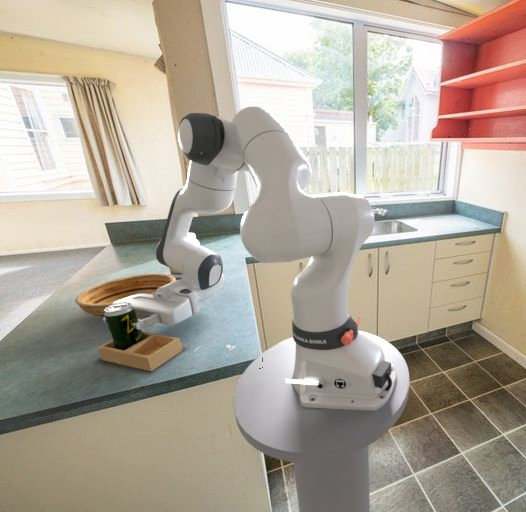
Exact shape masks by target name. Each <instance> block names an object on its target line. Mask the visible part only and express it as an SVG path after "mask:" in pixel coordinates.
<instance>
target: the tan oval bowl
mask: <svg viewBox="0 0 526 512" xmlns="http://www.w3.org/2000/svg"><path fill="white" fill-rule="evenodd" d="M174 281H177V278H174V277H173V276H171V274H166V273H146V274H145V273H144V274H138V275H131V276H125V277H121V278H116V279H113V280H109V281H106V282H103V283H99V284H96V285H94V286H92V287H90V288H88V289H86V290H83V291H82V292H81V293H79V294H78V295H77V296H76V297H75V298H74V303H75V304H76V305H78V307H79V308H80V309H81V310H82V311H83V312H85V313H86V314H88V315H91V316H93V317H99V318H104V317H105V315H104V314H105V311H104V310H105V309H106V308H107V307H109V306H111V305H112V304H113V303H114V302H116V301H118V300H121V299H124V298H127V297H130V296H133V295H136V294H150V295H155V292H156V290H157V289H158V288H159V287H162V286H164V285H167V284H169V283H171V282H174Z"/></svg>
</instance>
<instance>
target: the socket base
mask: <svg viewBox="0 0 526 512" xmlns="http://www.w3.org/2000/svg"><path fill="white" fill-rule="evenodd" d="M141 333H142V336H143V340H142V341H141V342H139V343H137V344H135V345H133V346H132V347H130V348H128V349H126V350H119V349H116V348H115V345H114V342H113V339H112V340H110V341H108V342H106V343H104V344H102V345H100V346H98V347H97V349H98V352H99V356H100V358H101V360H102V361H103V362H104V361H105V362H109V363H113V364H118V365H123V366H126V367H131V368H135V369H140V370H144V371H148V372H152V371H154V370H156V369H157V368H159V367H160V366H162V365H163V364H164V363H166V362H167V361H170V360H171V359H173V358H174V357H175V356H176V355H179V354H180V353H181V352H182V351H183V347H182V342H181V338H180V337H174V336H169V335H165V334H164V335H163V334H160V333H159V334H158V333H153V332H148V331H142V330H141Z"/></svg>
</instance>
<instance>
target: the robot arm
mask: <svg viewBox="0 0 526 512" xmlns="http://www.w3.org/2000/svg"><path fill="white" fill-rule="evenodd" d="M177 132H178V133H177V138H178V139H177V140H178V144H179V147H180V150H181V152H182V154H183V155H184V157H185V158H186V159H187V160H188V161H189V164H188V170H187V178H186V183H185V185H184V186H183V187H182V188H180V189H178V191H177V192H176V193H175V194H174V196H173V198H172V200H171V204H170V207H169V210H168V215H167V218H166V222H165V225H164V229H163V233H162V235H161V237H160V240H159V241H158V243H157V245H156V249H155V257H156V260H157V262H158V263H159V264H160V265H163V266H165V267H168V268H169V267H170V268H172V269H175V270H176V271H178V272H180V273H182V274H183V278H180V279H176V281H174V282H171V283H169V284H167V285H164V286H162V287H159V288H158V289H157V290H156V292H155V295H150V294H136V295H133V296H130V297H127V298H124V299H121V300H118V301H116V302H114V303H113V304H112V305H114V304H117V303H122V302H130V303H131V304H132V306H133V307H134V309H135V312H136V316H137V319H138V320H137V321H135V322H133V328H134V329H138V330H140V329H141V330H142V329H144V328H146V327H150V326H154V325H158V324H161V325H169V326H172V325H176V324H179V323H181V322H183V321H185V320H187V319H188V318H190V317H192V316H195V315H197V314H199V313H200V306H199V303H201V302H203V301H205V300H207V299H209V298H210V297H212V296H214V295H215V294H217V292H219V291H220V290H221V289H222V288H223V287H224V286H225V281H226V279H225V278H226V277H225V275H224V272H223V270H224V264H223V259H222V257H221V256H220V255H219V253H216V252H215V251H213V250H211V249H209V248H207V247H205V246H203V245H201V244H200V245H199V244H197V243H195V242H194V241H192V240H191V239H190V237H189V236H188V232H190V228H191V225H192V220H193V218H194V215H195V214H201V215H211V214H212V215H213V214H218V213H221V212H224V211H226V210H227V209H228V208H229V207H230V206H231V205H232V203H233V201H234V198H235V195H236V188H237V182H238V174H239V172H249V174H250V177H251V178H252V180H253V182H254V184H255V187H256V190H257V196H256V199H255V201H254V202H253V203H252V204H251V205H250V206H248V207H247V209H246V210H245V211H244V213H243V215H242V217H241V220H240V225H239V234H240V240H241V243H242V245H243V247H244V248H245V250H246V251H247V253H248V254H249V255H250V256H251V257H252V258H253V259H254V260H256V261H258V262H260V263H262V264H281V263H293V262H296V261H300V260H303V259H307V258H309V261H308V262H307V264H306V266H305V267H304V268H303V269H302V270H301V271H300V272H299V273H298V274H297V275H296V276H295V278H294V279H293V281H292V284H291V287H290V299H291V307H292V321H291V328H292V329H291V331H292V337H293V339H294V341H295V344H296V355H295V367H294V372H293V376H292V379H286V380H285V382H286V383H292V384H293V387H294V389H295V390H296V391H297V392H298V394H299V396H300V404H301V405H302V406H303V407H310V408H329V409H348V410H367V411H376V410H378V409H379V408H381V407H382V406H383V405H384V404H385V403H386V402H387V400H388V399H389V397H390V396H391V394H392V391H393V389H394V385H395V381H396V370H395V366H394V364H393V362H391V361H388V360H385V356H384V353H383V350H382V348H381V347H380V346H379V345H378V344H376V343H375V342H374V341H372V340H371V339H369V338H368V337H367V336H365V335H364V334H362V333H361V332H360V331H361V330H359V329H358V328H359V327H358V326H359V325H360V324H361V323H360V322H361V320H360V318H361V317H360V316H359V317H358V318H357V319H356V320H354V319H353V318H352V315H351V313H350V311H349V286H350V285H349V283H350V278H351V272H352V269H353V266H354V263H355V261H356V258H357V256H358V254H359V251H360V250H361V248H362V246H363V245H364V244H365V242H366V241H367V240H368V239H369V238H370V237H371V235H372V234H373V231H374V227H375V214H374V209H373V208H372V205H371V203H370V202H369V201H368V199H366V198H365V197H363V196H362V195H359V194H354V193H346V192H332V193H320V194H307V193H306V192H305V191H306V190H307V189H308V187H309V185H310V183H311V180H312V168H311V163H310V162H309V161H308V159H307V157H306V156H305V154H304V153H303V151H302V150H301V149H300V147H299V145H298V144H297V143H296V142H297V141H295V139H294V138H293V136H292V134H290V132H289V131H288V129H287V128H285V126H284V125H283V124H282V123H281V122H280V121H279V119H278V118H276V116H274V115H273V114H272V113H271V112H270V111H269V110H267V109H265V108H263V107H259V106H246V107H244V108H242V109H240V110H239V111H238V112H237V113H236V114H235V115H234V117H233V118H228V117H223V116H217V115H213V114H209V113H207V112H190V113H188V114H186V115H185V116H183V117H182V118H181V120H180V122H179V126H178V131H177ZM102 321H103V323H104V324H107V321H106V318H105V317H102ZM107 325H108V324H107ZM358 330H359V331H358ZM381 398H382V399H381Z"/></svg>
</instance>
